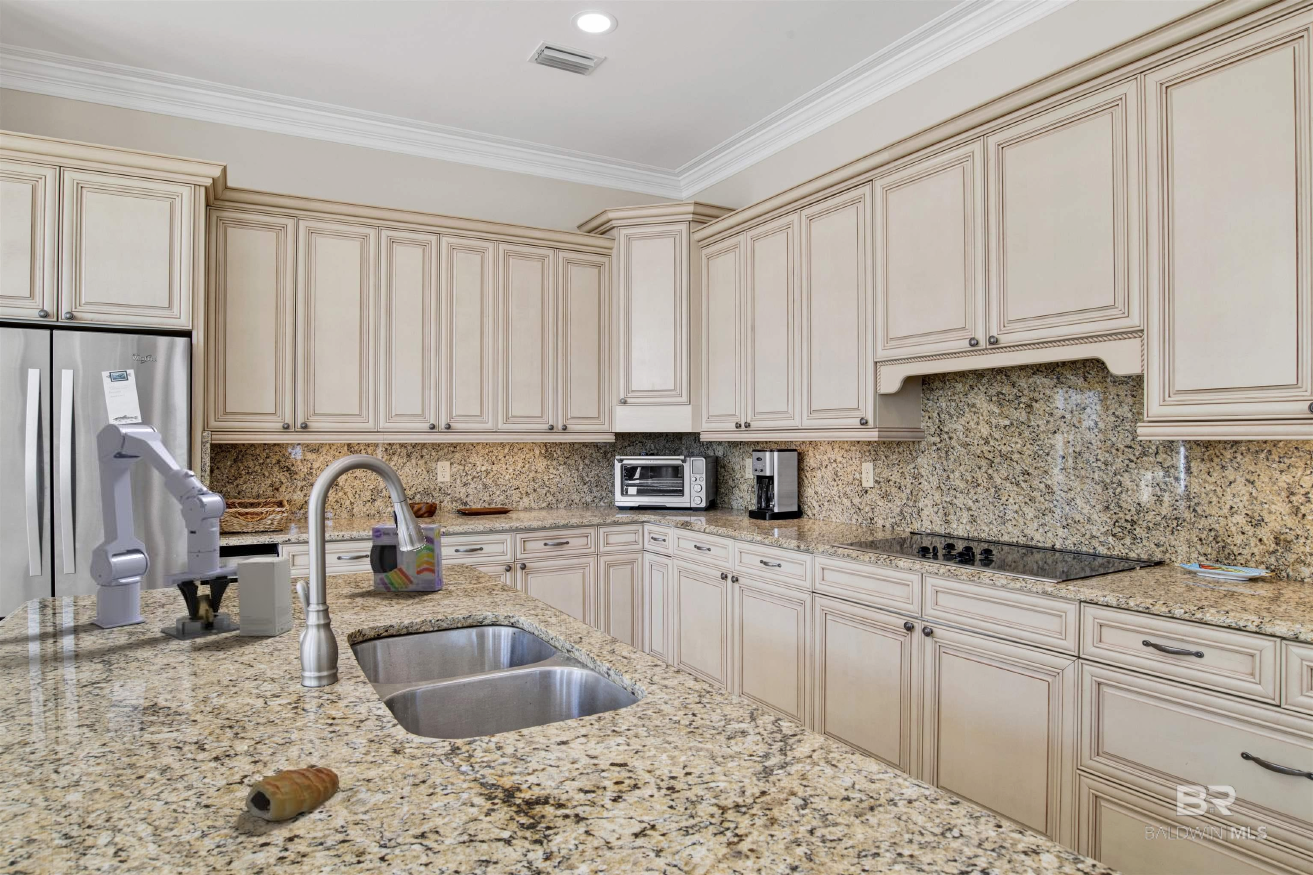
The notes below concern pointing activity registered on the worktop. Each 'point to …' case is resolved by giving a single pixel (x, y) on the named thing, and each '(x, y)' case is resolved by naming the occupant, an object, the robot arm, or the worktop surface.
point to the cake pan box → (406, 561)
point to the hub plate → (208, 631)
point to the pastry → (291, 793)
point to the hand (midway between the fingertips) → (203, 614)
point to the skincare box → (265, 596)
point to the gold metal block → (204, 609)
